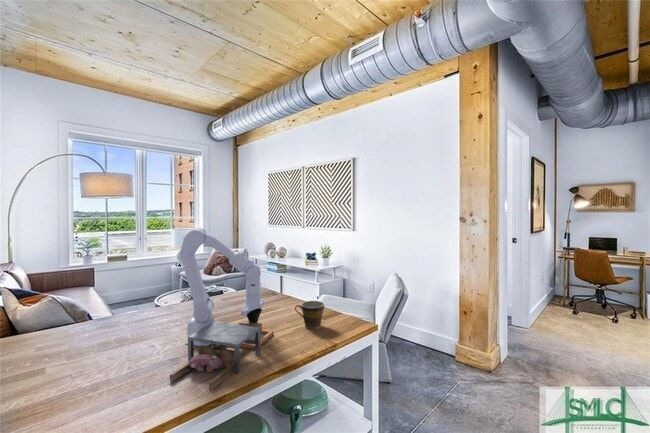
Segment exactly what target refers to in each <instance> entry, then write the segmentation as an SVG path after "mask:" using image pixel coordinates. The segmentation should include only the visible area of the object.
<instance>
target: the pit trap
mask: <svg viewBox="0 0 650 433" xmlns="http://www.w3.org/2000/svg"><path fill="white" fill-rule="evenodd" d="M273 335H274V330H269V329H263V328H262V331H261V332H260V347H261V346H262V345H263V344H265V342H266V341H267V340H268V339H270V338H271V337H272V336H273ZM241 348H242V349H247V350H249V349H250V350H254V351H255V334H254V335H253V336H252V337H251V338H249V339H248V340H247V341H245V342H244V343H243V344H242V345H240V349H241Z"/></svg>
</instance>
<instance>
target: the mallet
mask: <svg viewBox="0 0 650 433" xmlns="http://www.w3.org/2000/svg"><path fill="white" fill-rule="evenodd" d="M238 325H246V326H253V327H260V332H261V331H262V329H263V323H260V322H257V323H254V322H249V321H245V320H241V321H240V322H238ZM229 347H231V346H224V345H218V346H217V347H213V346H210V345H209V346H204V345H200V346H198V355H202V354H208V355H212V356H216V357H218V358H219V359H221V360H222V361H223V366H226V367H225V369H223V370H222V371H221V372H220V373H219V374H218V375H216V376H215V377H214V378H213V379H212V380H210V381H209V382H208V385H209V386H208V389H209V390H210V391H213V390H214V389H215V388H216V387H218V386H219V385H220V384H221V383H222V382H223V381H224V380H225V379H226V378H227V377H229V376H230V375H231V374H232V373H233V372H234V349H229ZM191 369H193V368H192V367H190V366H189V362H188V361H187V362H186V363H185V364H183V365H182V366H180V367H179V368H178V369H176V370H174V371H173V372H172V373H170V374H169V381H170V382H173V383H174V381H176V380H177V379H179V378H180V377H181V376H183V375H184V374H186V373H187V372H189V371H190V370H191Z"/></svg>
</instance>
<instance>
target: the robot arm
mask: <svg viewBox="0 0 650 433" xmlns="http://www.w3.org/2000/svg"><path fill="white" fill-rule="evenodd" d="M182 240H183V242H182V245H181V247H180V251H179V257H180V261H181V263H182V264H181V265H182V267H183V270H184V273H185V276H186V279H187V280H186V281H187V282H188V287H189V290H190V293H191V296H192V306H193V314H192V315H193V317H192V318H191V319H189V321H188V323H187V327H186V328H187V330H186V331H187V333H186V334H187V335H186V336H187V340H186V342H185V344H186V345H188V336H190V335H192V334H193V333H195V332H197V331H199V330H201V329H202V328H204V327H206V326H208V325H209V324H211V323H213V322H215V315H213V310H214V308H215V303H214V302H213V300H211V298H210V296H209V294H208V293H207V291H206V288H205V284H204V281H203V278H202V275H201V271H200V268H199V265H198V261H197V258H196V253H197V251H198V249H199V248H200V247H201V246H202V247H204V248H205V247H208V248H212V249H214V250H215V251H217V252H219V254H221V255H223V256H224V257H226V258H227V259H228V261H229V264H230V265H231V266H232V267H233V268H235V269H236V270H238V271H239V272H240V273H242V274H244V275H245V279H246V283H245V306H244V307H243V309H241V310H240V315H241V316H242V317H243V316H244V317H247V319H248V322H254V323H259V317H260V315H261V313H262V311H263V307H264V305H265V299H262V298H261V276H262V275H261V274H262V272H261V267H260V266H259V265H258V263H257V262H255V261H254V260H251V259H249V258H248V257H247V256H245V253H244V252H243V251H242V252H241V251H234V250H232V249H231V248H229V247H228V246H227V245H226V244H225V243H224V242H222V241H221V240H220V239H219V238H217V237H216V236H214V235H213V234H212V233H210V232H208V231H206V230H205V229H204V228H202V227H201V228H200V227H198V228H195V229H192V230H189V231H188V233H187V234H186V235H185V236H184V237H183V239H182ZM193 344H194V346H197V347H199V346H200V345H204V346H210V345H211V344H212V343H206V342H199V341H193ZM212 345H213V344H212Z"/></svg>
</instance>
